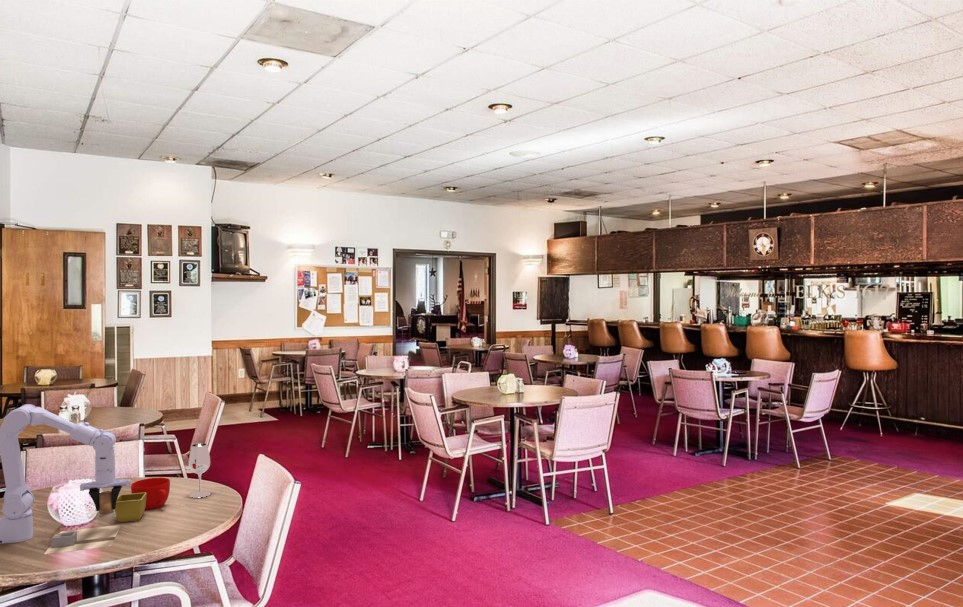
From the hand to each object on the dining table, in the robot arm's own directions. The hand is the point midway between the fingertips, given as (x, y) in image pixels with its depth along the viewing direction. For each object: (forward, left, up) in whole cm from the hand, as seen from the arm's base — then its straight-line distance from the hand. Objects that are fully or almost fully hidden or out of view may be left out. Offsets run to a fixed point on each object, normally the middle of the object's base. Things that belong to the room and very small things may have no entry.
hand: (106, 509), depth 223 cm
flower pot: (+6, +9, -8) cm, 14 cm away
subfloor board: (-5, -7, -8) cm, 12 cm away
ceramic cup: (+12, +20, -8) cm, 25 cm away
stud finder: (-10, -10, -7) cm, 16 cm away
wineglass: (+27, +33, -8) cm, 43 cm away
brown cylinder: (0, 0, -2) cm, 2 cm away
